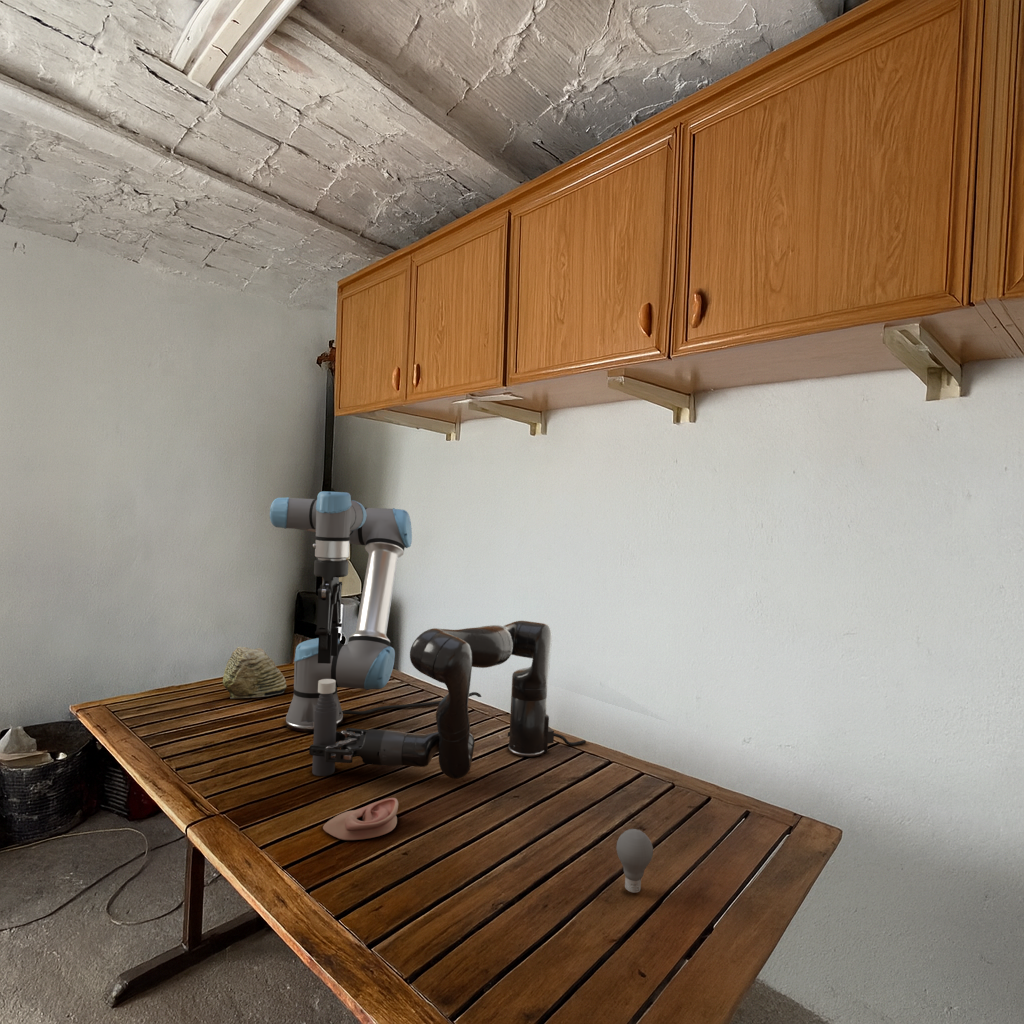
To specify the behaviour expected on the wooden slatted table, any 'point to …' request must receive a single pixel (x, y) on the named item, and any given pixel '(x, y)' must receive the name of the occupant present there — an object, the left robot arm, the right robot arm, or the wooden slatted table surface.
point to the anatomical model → (364, 821)
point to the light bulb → (634, 857)
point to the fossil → (252, 674)
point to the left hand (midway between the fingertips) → (327, 658)
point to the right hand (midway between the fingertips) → (317, 742)
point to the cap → (326, 686)
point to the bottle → (324, 732)
